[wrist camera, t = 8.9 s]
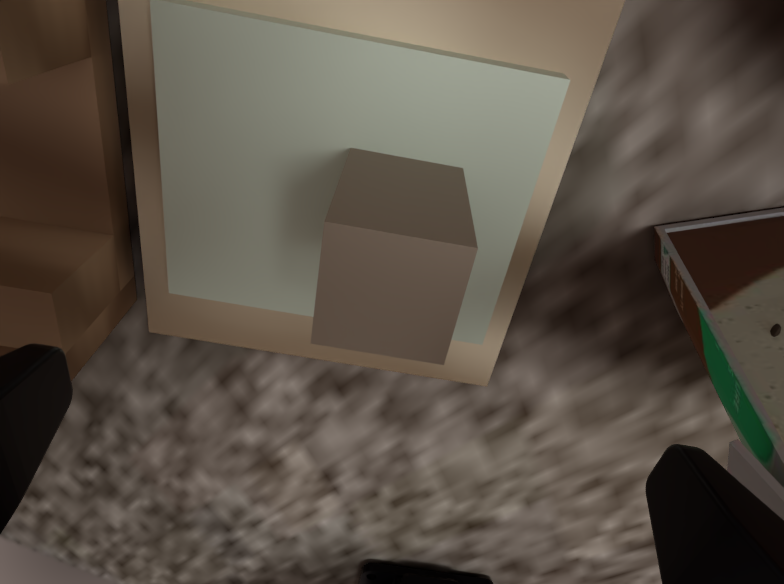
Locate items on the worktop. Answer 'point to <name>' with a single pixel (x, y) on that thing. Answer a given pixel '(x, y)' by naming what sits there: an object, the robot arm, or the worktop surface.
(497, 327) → the mat
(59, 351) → the robot arm
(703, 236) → the food container
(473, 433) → the worktop surface
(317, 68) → the lid
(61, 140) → the box
